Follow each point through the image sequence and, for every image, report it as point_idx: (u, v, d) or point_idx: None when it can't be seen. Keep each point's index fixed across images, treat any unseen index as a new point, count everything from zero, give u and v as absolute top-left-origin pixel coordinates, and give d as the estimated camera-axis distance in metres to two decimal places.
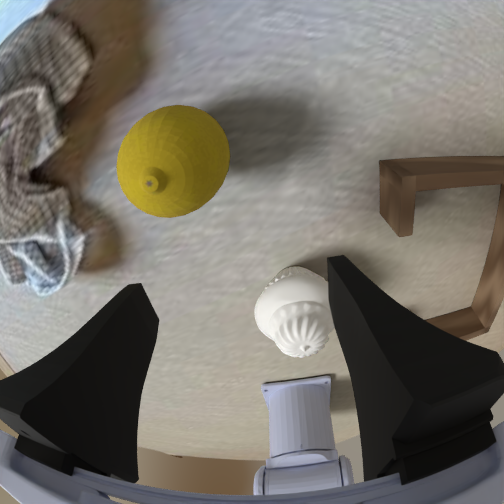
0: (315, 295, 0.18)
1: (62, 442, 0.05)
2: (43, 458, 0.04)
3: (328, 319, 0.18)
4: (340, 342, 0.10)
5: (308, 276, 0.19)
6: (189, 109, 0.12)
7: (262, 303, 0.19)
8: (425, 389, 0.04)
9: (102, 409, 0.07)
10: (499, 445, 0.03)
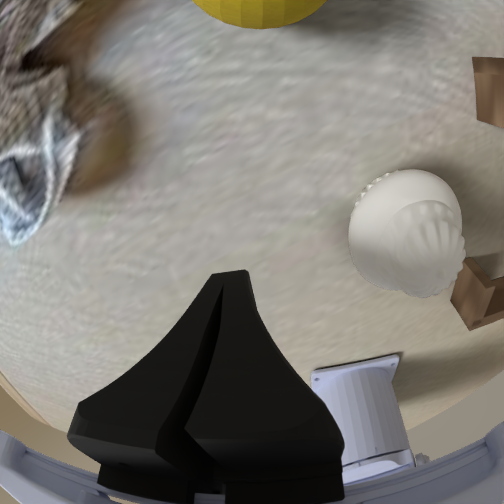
0: (443, 194, 0.10)
1: (190, 468, 0.04)
2: (151, 491, 0.04)
3: (458, 234, 0.10)
4: None
5: (426, 171, 0.11)
6: None
7: (369, 206, 0.11)
8: (203, 422, 0.04)
9: None
10: (499, 445, 0.03)
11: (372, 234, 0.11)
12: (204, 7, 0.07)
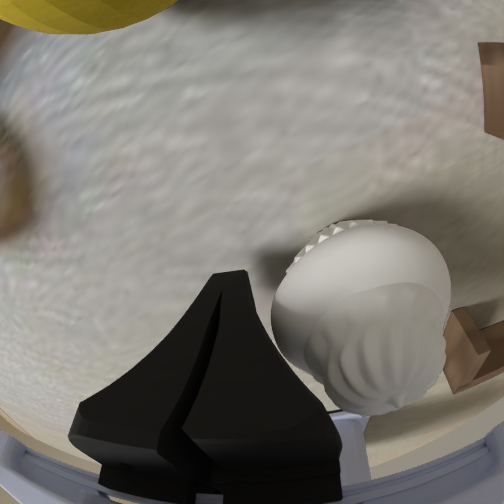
0: (422, 269, 0.07)
1: (191, 468, 0.04)
2: (152, 492, 0.04)
3: (440, 326, 0.07)
4: None
5: (399, 226, 0.07)
6: None
7: (293, 291, 0.07)
8: (201, 422, 0.04)
9: None
10: (499, 445, 0.03)
11: (297, 332, 0.08)
12: None
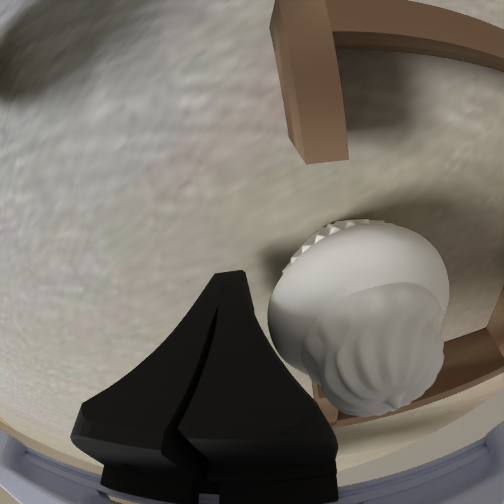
0: (419, 269, 0.07)
1: (195, 468, 0.04)
2: (155, 492, 0.04)
3: (438, 326, 0.07)
4: None
5: (396, 226, 0.07)
6: None
7: (289, 292, 0.07)
8: (196, 421, 0.04)
9: None
10: (499, 445, 0.03)
11: (293, 332, 0.08)
12: None
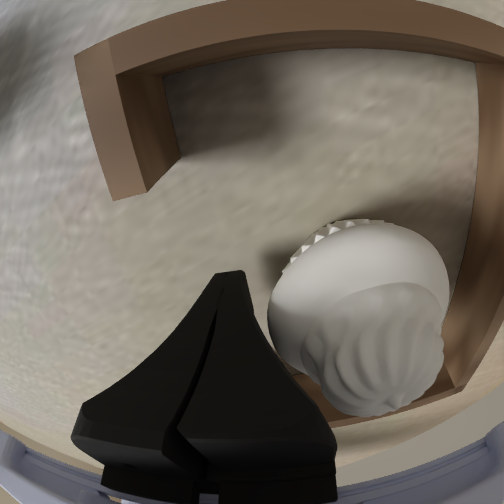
0: (419, 269, 0.06)
1: (195, 468, 0.04)
2: (156, 492, 0.04)
3: (438, 326, 0.07)
4: None
5: (396, 225, 0.07)
6: None
7: (289, 292, 0.07)
8: (196, 421, 0.04)
9: None
10: (499, 445, 0.03)
11: (293, 332, 0.07)
12: None
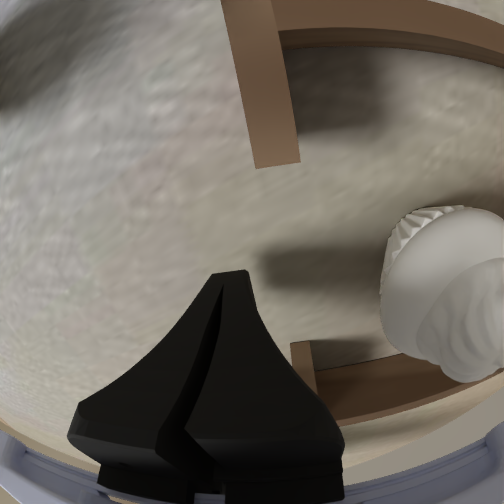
0: None
1: (190, 468, 0.04)
2: (151, 492, 0.04)
3: None
4: None
5: (488, 211, 0.07)
6: None
7: (417, 268, 0.07)
8: (203, 422, 0.04)
9: None
10: (499, 445, 0.03)
11: (418, 307, 0.07)
12: None
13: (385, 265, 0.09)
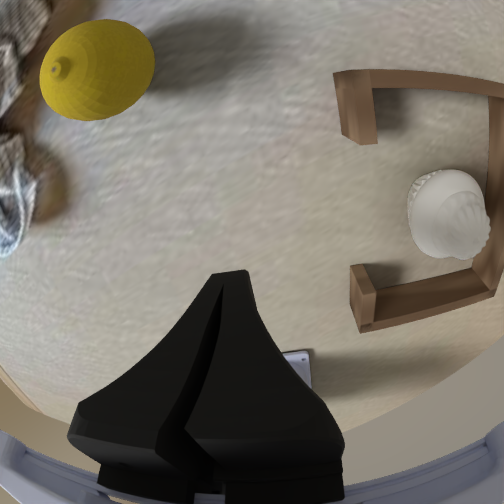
0: (473, 187, 0.13)
1: (190, 468, 0.04)
2: (151, 492, 0.04)
3: None
4: None
5: (461, 171, 0.14)
6: None
7: (427, 195, 0.14)
8: (203, 422, 0.04)
9: None
10: (499, 445, 0.03)
11: (430, 215, 0.14)
12: None
13: (410, 201, 0.16)
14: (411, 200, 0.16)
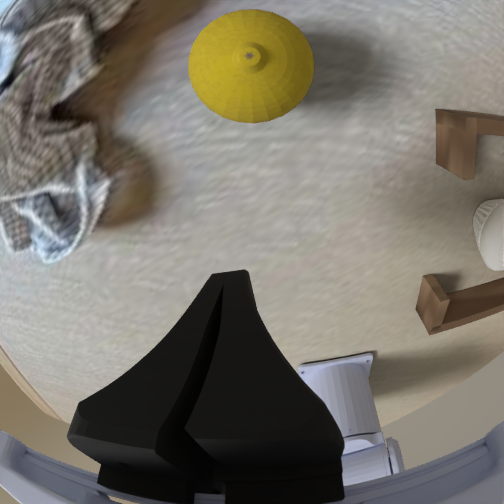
0: None
1: (190, 468, 0.04)
2: (151, 491, 0.04)
3: None
4: None
5: None
6: None
7: (498, 221, 0.15)
8: (203, 422, 0.04)
9: None
10: (499, 445, 0.03)
11: (499, 237, 0.15)
12: None
13: (481, 223, 0.17)
14: (482, 223, 0.17)
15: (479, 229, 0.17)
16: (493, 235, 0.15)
